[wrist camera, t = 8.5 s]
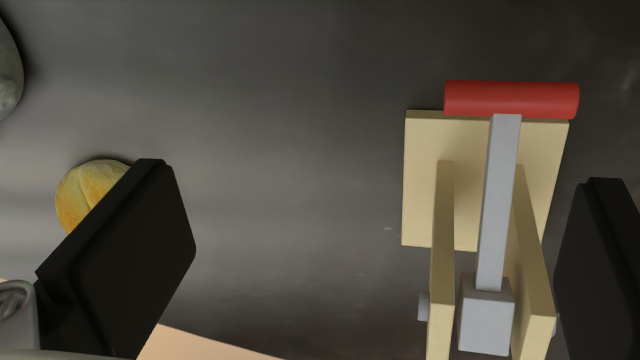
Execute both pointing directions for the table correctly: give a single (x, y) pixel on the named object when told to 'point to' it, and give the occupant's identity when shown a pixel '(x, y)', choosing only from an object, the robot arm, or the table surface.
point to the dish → (9, 73)
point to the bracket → (464, 217)
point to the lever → (498, 197)
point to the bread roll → (85, 189)
